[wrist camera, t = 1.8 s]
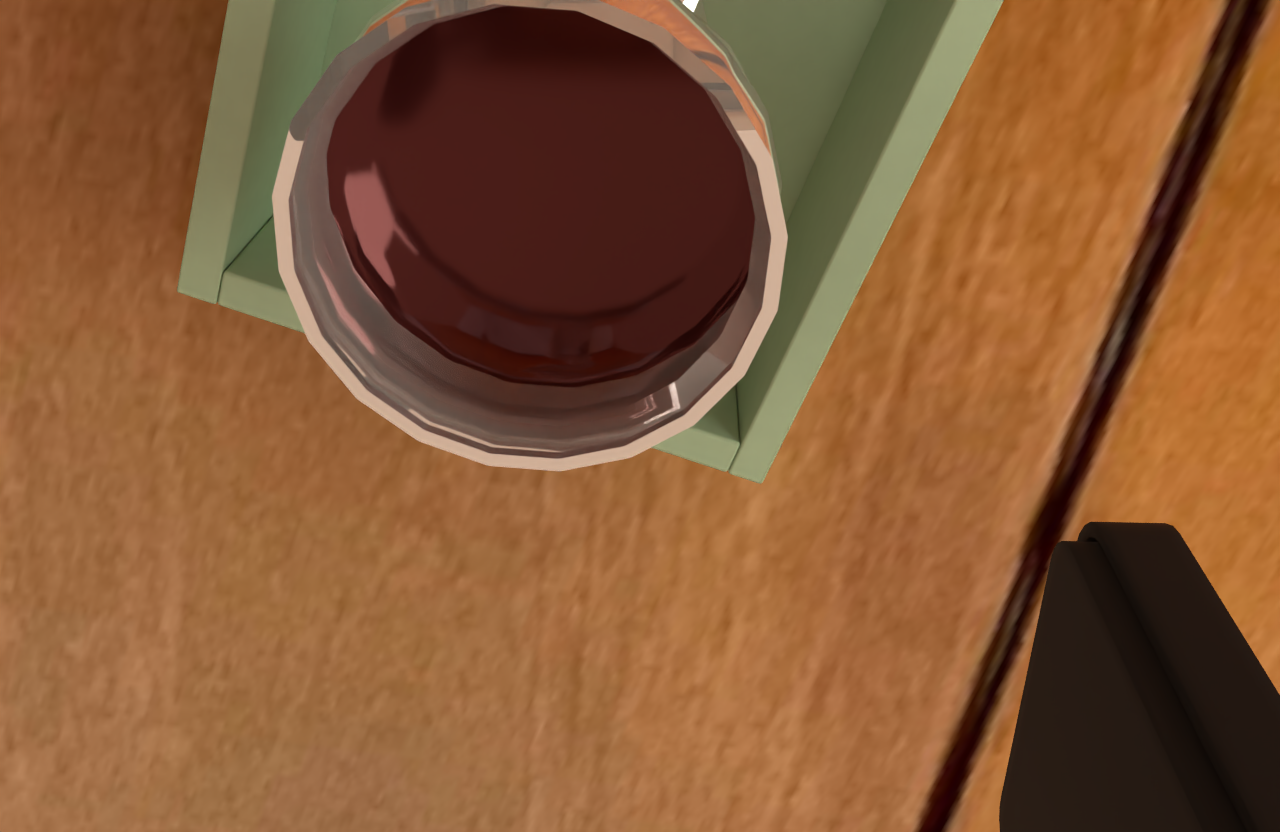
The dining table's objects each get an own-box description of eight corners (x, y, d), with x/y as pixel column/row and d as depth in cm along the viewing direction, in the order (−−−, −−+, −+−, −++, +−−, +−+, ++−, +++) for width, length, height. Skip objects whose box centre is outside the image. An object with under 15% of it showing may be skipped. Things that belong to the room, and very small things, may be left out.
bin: (261, 200, 28) (175, 292, 24) (387, -404, 22) (305, -441, 17) (751, 368, 30) (762, 485, 25) (991, -148, 24) (1064, -119, 19)
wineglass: (815, 62, 26) (899, 283, 15) (584, 250, 28) (522, 553, 18) (606, -204, 23) (538, -156, 13) (374, 27, 26) (159, 224, 15)
